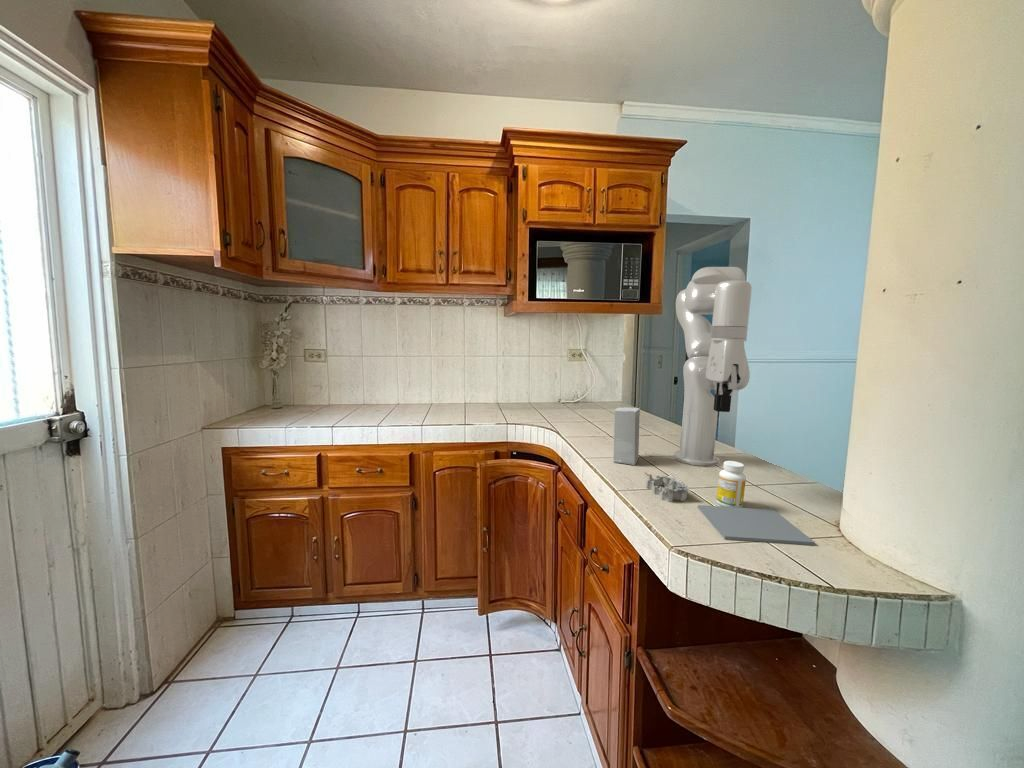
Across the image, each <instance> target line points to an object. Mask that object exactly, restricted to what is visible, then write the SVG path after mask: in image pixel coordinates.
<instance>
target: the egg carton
mask: <svg viewBox="0 0 1024 768" xmlns="http://www.w3.org/2000/svg"><path fill="white" fill-rule="evenodd" d="M644 475H646V476H647V479H646V480H645V489H646V490H651V493H652V494H653V495H655V496H658V497H659V500H661V501H666V502H667V503H673V500H677V501H681V502H686V499H688V490H689V489H690V488H691V486H687V485H686V484H684V482H683V481H682V482H681V481H680V480H678V479H677V478H676V477H675V476H673V475H662V476H660V475H656V476H655V478H653V476H652V474H649V473H648V472H647V471H645V472H644ZM663 487H664V488H663Z"/></svg>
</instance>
